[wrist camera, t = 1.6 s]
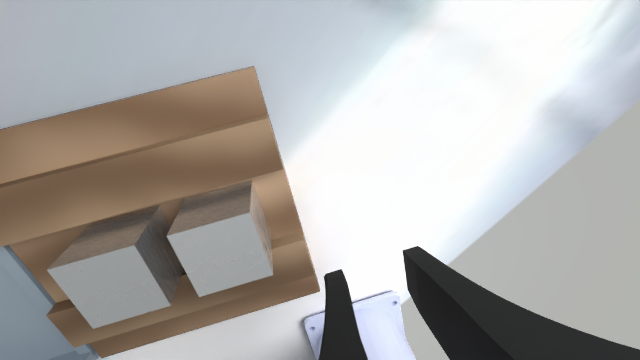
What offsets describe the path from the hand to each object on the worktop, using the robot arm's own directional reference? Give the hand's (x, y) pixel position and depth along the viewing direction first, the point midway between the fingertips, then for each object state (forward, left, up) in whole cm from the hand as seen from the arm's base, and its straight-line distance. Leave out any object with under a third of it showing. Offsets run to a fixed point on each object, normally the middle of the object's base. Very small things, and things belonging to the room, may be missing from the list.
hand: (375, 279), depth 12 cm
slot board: (0, +11, -9) cm, 14 cm away
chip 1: (0, +12, -8) cm, 15 cm away
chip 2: (0, +7, -8) cm, 11 cm away
